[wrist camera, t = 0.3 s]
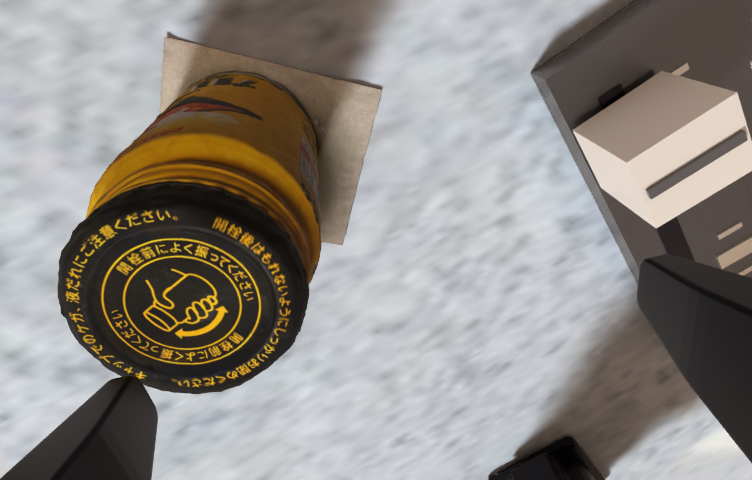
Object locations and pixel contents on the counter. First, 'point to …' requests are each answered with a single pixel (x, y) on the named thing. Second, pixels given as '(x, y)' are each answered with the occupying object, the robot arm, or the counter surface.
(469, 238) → the counter surface
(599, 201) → the mixer panel
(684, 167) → the block
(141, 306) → the condiment
